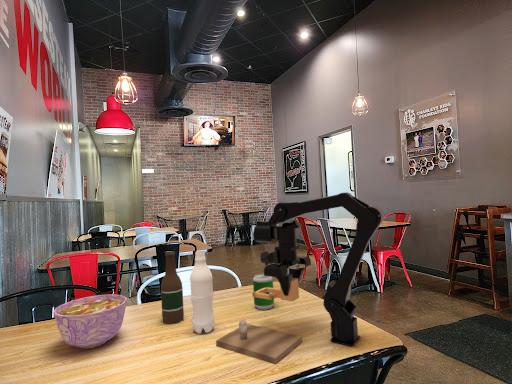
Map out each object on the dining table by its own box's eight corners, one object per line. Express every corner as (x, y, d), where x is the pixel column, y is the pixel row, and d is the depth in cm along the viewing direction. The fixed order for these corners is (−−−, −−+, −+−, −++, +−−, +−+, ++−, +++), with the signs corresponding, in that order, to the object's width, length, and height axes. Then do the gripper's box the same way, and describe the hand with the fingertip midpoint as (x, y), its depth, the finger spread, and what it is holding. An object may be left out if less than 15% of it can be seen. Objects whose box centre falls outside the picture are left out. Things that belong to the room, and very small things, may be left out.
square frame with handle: (301, 296, 100) (300, 276, 100) (289, 303, 94) (288, 282, 94) (265, 290, 108) (264, 272, 109) (252, 296, 103) (251, 277, 103)
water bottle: (210, 335, 98) (206, 253, 99) (188, 334, 100) (184, 254, 100) (218, 326, 105) (214, 249, 106) (197, 325, 107) (193, 250, 107)
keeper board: (302, 341, 91) (300, 318, 91) (275, 364, 80) (274, 337, 80) (246, 328, 103) (245, 307, 103) (216, 345, 91) (215, 322, 91)
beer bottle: (187, 316, 116) (184, 249, 117) (180, 324, 108) (176, 253, 109) (166, 316, 117) (163, 250, 117) (158, 324, 109) (154, 254, 110)
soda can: (266, 312, 116) (265, 278, 116) (250, 308, 121) (248, 276, 121) (278, 305, 122) (276, 274, 122) (262, 302, 127) (260, 272, 127)
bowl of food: (43, 364, 86) (42, 320, 86) (66, 334, 105) (65, 299, 105) (124, 351, 91) (122, 310, 91) (131, 325, 110) (130, 291, 110)
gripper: (281, 237, 111) (283, 283, 111) (247, 246, 96) (250, 298, 96) (310, 239, 104) (312, 287, 104) (278, 247, 89) (282, 304, 89)
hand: (289, 293), depth 98 cm, fingers closed on square frame with handle, 4 cm apart
